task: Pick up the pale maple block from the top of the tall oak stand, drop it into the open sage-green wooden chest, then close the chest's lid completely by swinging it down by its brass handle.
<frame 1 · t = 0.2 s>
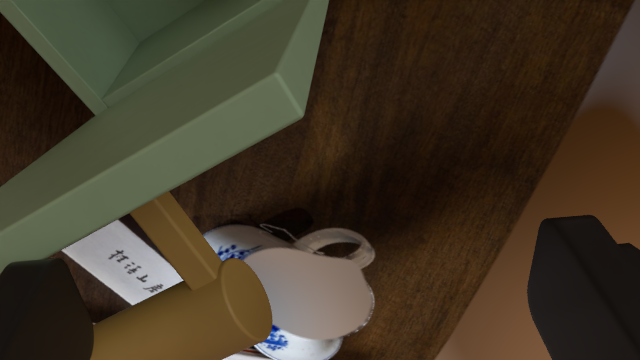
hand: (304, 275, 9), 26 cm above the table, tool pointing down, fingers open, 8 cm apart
lid: (185, 177, 18), point 18 cm above the table, hinge at 80.0°
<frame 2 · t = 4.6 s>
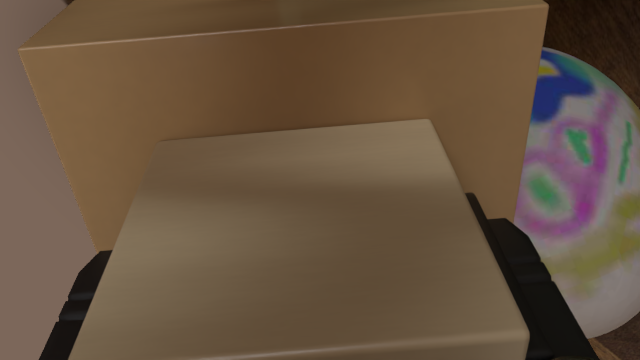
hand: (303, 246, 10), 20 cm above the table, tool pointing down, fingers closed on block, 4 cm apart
decorative egg: (477, 119, 32), on the table
block: (305, 234, 10), point 20 cm above the table, touching gripper, stand
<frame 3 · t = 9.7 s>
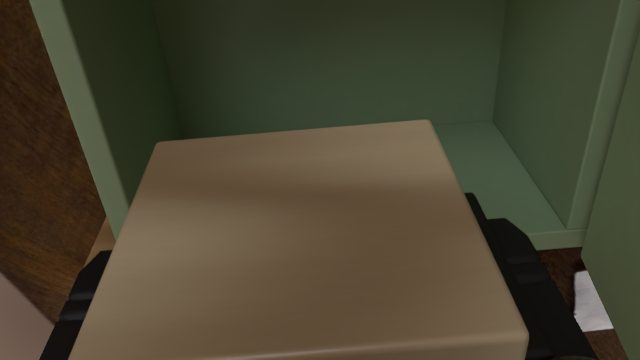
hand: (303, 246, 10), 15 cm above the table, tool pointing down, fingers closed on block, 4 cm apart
stand: (210, 249, 29), on the table
chest: (330, 6, 22), on the table
block: (304, 234, 10), point 15 cm above the table, touching gripper
when the fingers open (7 cm above the table, at t = 12.0 s): block drops 6 cm, resting on chest.
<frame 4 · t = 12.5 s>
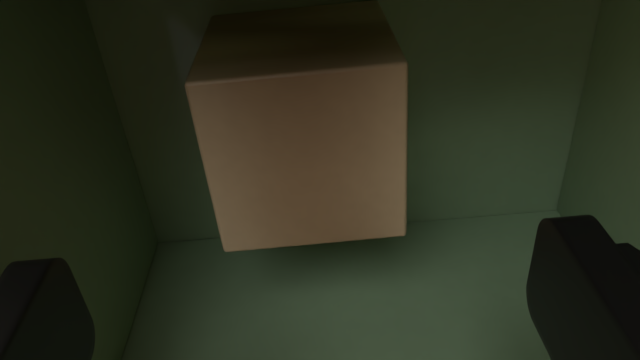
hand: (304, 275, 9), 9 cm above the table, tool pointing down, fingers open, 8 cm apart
chest: (349, 70, 17), on the table
block: (302, 84, 16), point 1 cm above the table, touching chest
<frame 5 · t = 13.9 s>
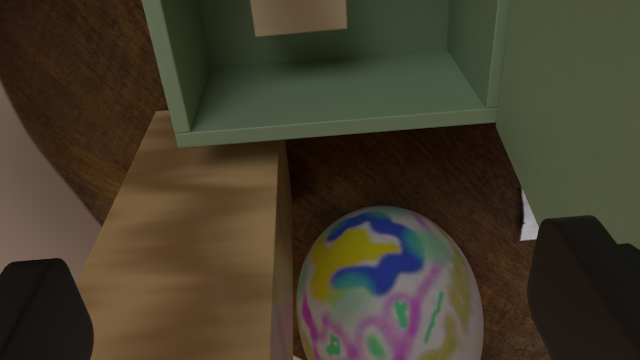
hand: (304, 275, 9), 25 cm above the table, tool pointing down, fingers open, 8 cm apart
stand: (228, 159, 37), on the table
decorative egg: (375, 245, 42), on the table
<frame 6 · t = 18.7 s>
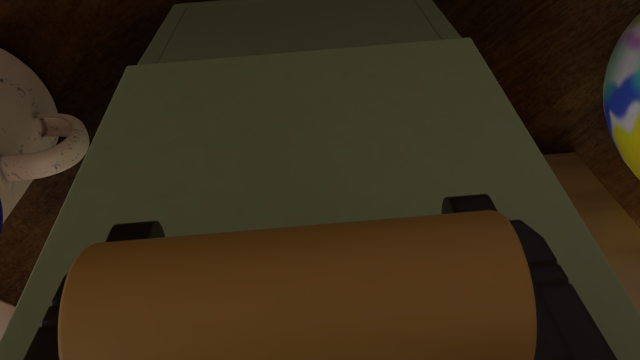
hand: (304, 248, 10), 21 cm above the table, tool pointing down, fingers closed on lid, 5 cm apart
stand: (503, 208, 36), on the table
teacup with lid: (8, 105, 31), on the table
chest: (308, 128, 32), on the table
lid: (300, 139, 12), point 18 cm above the table, hinge at 84.1°, touching gripper
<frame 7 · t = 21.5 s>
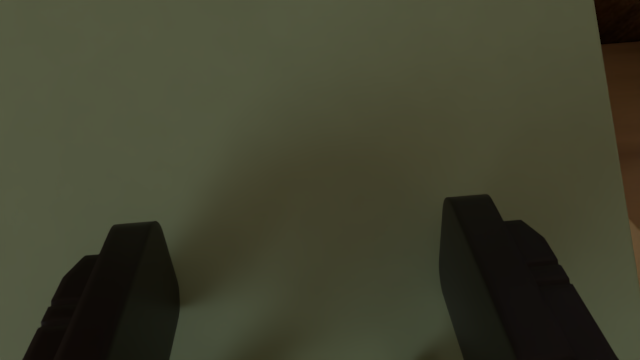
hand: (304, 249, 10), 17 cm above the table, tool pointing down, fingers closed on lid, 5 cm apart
stand: (548, 123, 28), on the table
lid: (287, 50, 9), point 16 cm above the table, hinge at 38.7°, touching gripper
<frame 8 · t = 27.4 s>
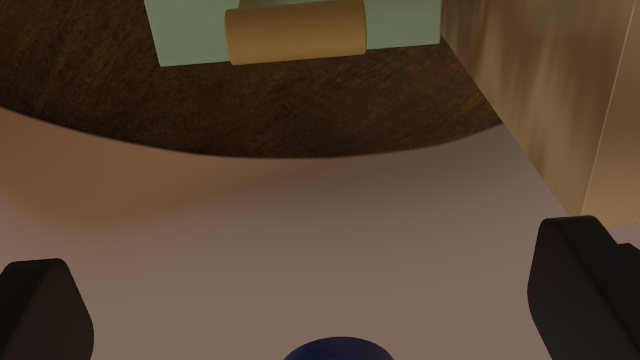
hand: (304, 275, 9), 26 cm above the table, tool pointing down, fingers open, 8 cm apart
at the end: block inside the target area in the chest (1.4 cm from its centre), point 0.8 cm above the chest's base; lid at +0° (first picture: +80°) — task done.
